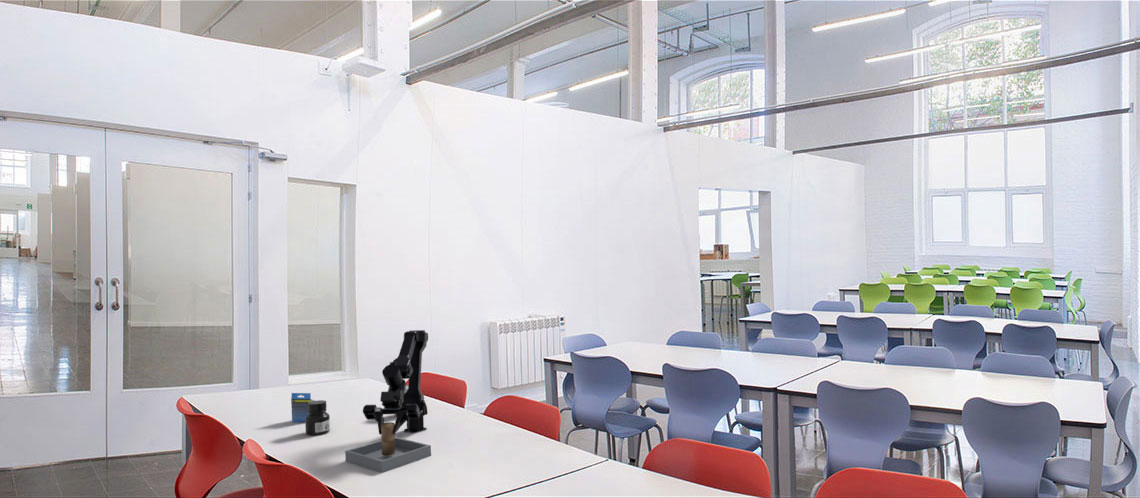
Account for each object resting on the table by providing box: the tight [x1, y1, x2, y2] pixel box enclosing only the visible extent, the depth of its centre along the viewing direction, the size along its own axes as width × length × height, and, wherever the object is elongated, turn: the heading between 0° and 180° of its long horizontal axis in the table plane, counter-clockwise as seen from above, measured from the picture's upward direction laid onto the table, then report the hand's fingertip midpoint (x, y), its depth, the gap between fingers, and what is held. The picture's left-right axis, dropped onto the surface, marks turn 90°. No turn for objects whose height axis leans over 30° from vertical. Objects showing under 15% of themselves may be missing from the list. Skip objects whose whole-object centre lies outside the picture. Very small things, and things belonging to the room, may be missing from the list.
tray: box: [344, 436, 432, 473], centre depth 219 cm, size 20×20×4 cm
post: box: [380, 421, 396, 456], centre depth 219 cm, size 4×4×10 cm
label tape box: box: [290, 392, 316, 423], centre depth 272 cm, size 9×4×12 cm, turn 84°
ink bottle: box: [304, 399, 331, 436], centre depth 253 cm, size 10×9×12 cm
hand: (386, 433), depth 217 cm, fingers closed on post, 4 cm apart
